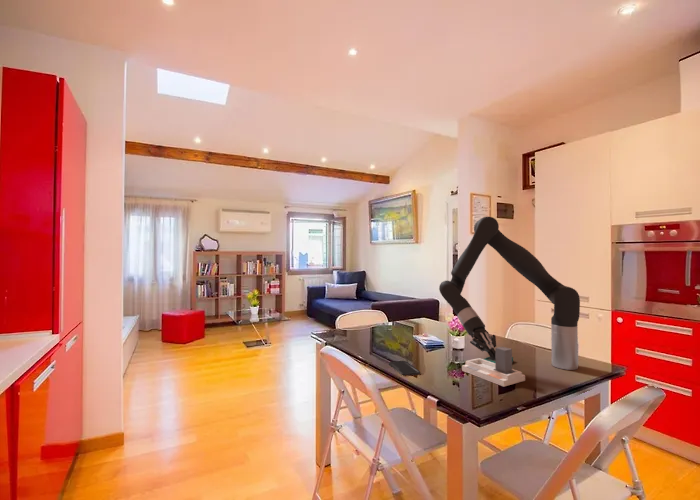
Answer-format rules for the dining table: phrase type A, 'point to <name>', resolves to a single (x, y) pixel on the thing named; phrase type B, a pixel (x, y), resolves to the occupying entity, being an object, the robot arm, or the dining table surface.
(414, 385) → the dining table surface
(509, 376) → the switch housing
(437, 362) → the dining table surface
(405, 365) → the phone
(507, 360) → the slider tab
